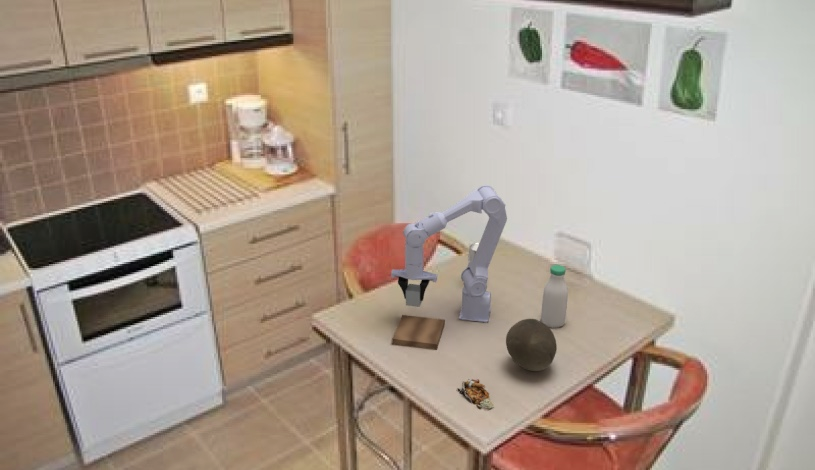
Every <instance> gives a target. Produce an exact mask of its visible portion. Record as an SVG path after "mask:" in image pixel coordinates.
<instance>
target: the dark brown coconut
mask: <svg viewBox="0 0 815 470" xmlns="http://www.w3.org/2000/svg"><path fill="white" fill-rule="evenodd" d="M505 345H506V349H507V352H508V355H509V356H510V357H511V360H513V361H514V363H515V364H517V365H518V366H520V367H521V368H522V369H525V370H528V371H532V372H541V371H543V370H545V369H547V368H549V367H550V366H551V365H552V363H553V361H554V358H555V357H556V354H557V349H558V347H557V341H556V337H555V335H554V332H553V331H552V330H551V327H548V326H547V325H545V324H544V323H542V322H541V320H538V319H535V318H534V319H533V318H525V319H522V320H519V321H517V322H516V323H514V324H513V325H511V327H510V328H509V330H508V332H507V334H506V336H505Z"/></svg>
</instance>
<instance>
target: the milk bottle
mask: <svg viewBox="0 0 815 470" xmlns="http://www.w3.org/2000/svg"><path fill="white" fill-rule="evenodd" d="M566 270H567V269H566V267H565V266H563V265H562V264H554V265H551V267H550V271H549V274H550V277H549V279H548V280H547V282H546V283H545V285H544V288H543V294H542V303H541V312H540V321H541V322H542V323H544V324H545V325H547V326H548V327H549V328H550V329H551V328H552V329H556V328H561V327H563V326H564V325H565V324H566V323H565V322H566V318H567V317H566V315H567V308H568V307H567V306H568V296H569V292H568V291H569V289H568V286H567V283H566V280H565V276H566Z"/></svg>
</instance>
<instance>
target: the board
mask: <svg viewBox="0 0 815 470" xmlns="http://www.w3.org/2000/svg"><path fill="white" fill-rule="evenodd" d="M445 322H446V321H445V319H443V318H442V319H441V318H433V317H426V316H425V317H424V316H417V315H415V316H414V315H406V314H405V315H404V314H402V315H401V317H400V319H399V322H398V324H397V326H396V329H395V331H394V334H393V336H392V339H391V342H392V343H391V344H392V345H396V346H403V347H413V348H419V349H420V348H422V349H429V350H438V348H439V344H440V342H441V338H442V334H443V331H444V328H445Z"/></svg>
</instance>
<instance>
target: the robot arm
mask: <svg viewBox="0 0 815 470" xmlns="http://www.w3.org/2000/svg"><path fill="white" fill-rule="evenodd" d="M482 211H483V212H484V213H485V214H487V216H488V219H487V222H486V225H485V227H484V228H485V229H484V231H483V233H482V237H481V239H480V241H479V242H478V243H479V246H478V248H477V251H476V254H475V256H474V259H473V261H472V262H470V263H468V262H467V263H468V264H467V266H466V268H464V269H463V270H462V272H461V275H460V278H461V281H462V282H463V287H462V291H461V292H462V294H461V295H462V296H461V309H460V312H459V316H458V319H459V320H463V321H471V322H472V321H473V322H480V323H488V322H489V319H490V314H491V311H492V308H491V303H492V302H491V301H492V292H490V291H487V290H488V284H487V283H488V279H489V271H488V269H489V266H490V264H491V261H492V258H493V257H494V254H495V250H496V248H497V246H498V243H499V242H500V238H501V237H502V234H503V231H504V228H505V226H506V223H507V220H508V216H507V211H506V204H505V202H504V201H503V200H502V198H501V197H500V196H499V195H498V194H497V192H496V191H495V189H494V188H493V187H492V186H491V185H486V184H485V185H481V186H479V187H478V188H477V189H474V190H472V191H471V192H470V193H469V194H468V195H467V196H465V197H464V198H462V199H461V200H459V201H458V202H456V203H455V204H453V205H452V206H450V207H448V208H447V209H446V210H444V211H442V212H439V211H435V212H432V211H431V212H430V213H428V216H426V217H424V218H422V219H420V220H417V221H415V222H414V223H412V222H411V223H409V224H407V225H406V226H405V227H404V228H403V230H402V234H403V236H404V238H405V243H404V246H405V247H404V269H391V273H390V278H392V279H395V278H397V279H398V280H397V284H398V286H399V287H400V289H401V291H402V294H403V297H404V300H406V289H407V287H408V285H409V280H410V281H420V280H421V281H420V283H419V285H420V291H421V294H420V301H422V302H423V301H424V298H425V293H426V289H427V288H428V286H429V284H430V282H432V283H437V282H438V274H437V273H433V272H428V271H425V270H424V244H425V243H426V241H427V239H429V238H430V237H432V236H434V235H436V234H437V233H439V232H441V231H442V230H444V229H445V228H446V227H447V224H448V223H449V222H451V221H453V220H455V219H457V218H460V217H461V216H463V215H465V214H467V213H470V212H473V213H478V214H483V212H482Z"/></svg>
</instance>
